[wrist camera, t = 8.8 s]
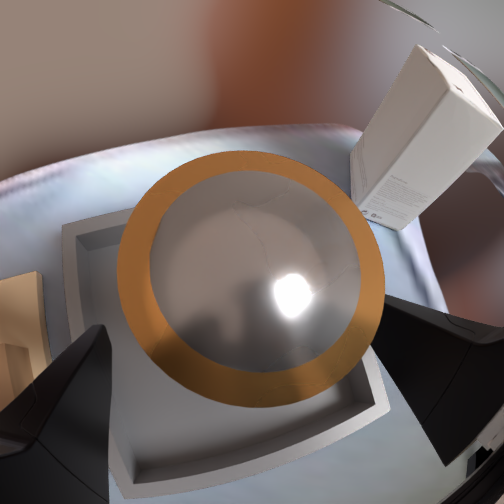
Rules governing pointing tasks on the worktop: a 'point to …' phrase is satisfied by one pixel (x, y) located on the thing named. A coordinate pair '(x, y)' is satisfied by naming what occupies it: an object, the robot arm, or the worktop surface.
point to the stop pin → (250, 279)
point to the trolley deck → (21, 334)
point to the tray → (192, 393)
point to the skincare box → (419, 140)
